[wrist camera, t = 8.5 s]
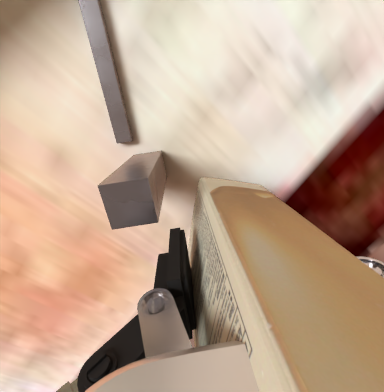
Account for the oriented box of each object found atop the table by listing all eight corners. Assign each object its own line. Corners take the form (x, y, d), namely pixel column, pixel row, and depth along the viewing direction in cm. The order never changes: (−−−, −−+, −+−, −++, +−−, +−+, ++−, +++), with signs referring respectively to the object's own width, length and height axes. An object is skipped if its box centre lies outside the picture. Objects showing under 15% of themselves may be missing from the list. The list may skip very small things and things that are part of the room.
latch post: (115, -90, 10) (3, -454, 4) (166, 177, 15) (158, 222, 9) (59, -82, 10) (-151, -432, 4) (129, 183, 15) (93, 232, 9)
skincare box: (241, 259, 16) (409, 631, 4) (185, 254, 15) (209, 662, 4) (264, 179, 14) (728, 512, 2) (199, 170, 13) (349, 545, 2)
